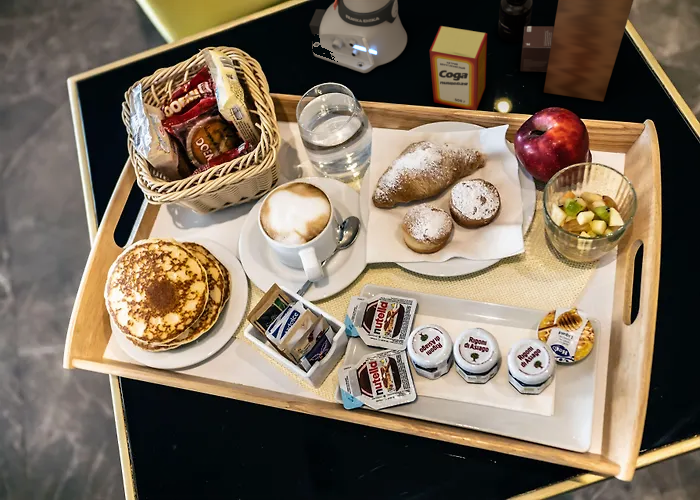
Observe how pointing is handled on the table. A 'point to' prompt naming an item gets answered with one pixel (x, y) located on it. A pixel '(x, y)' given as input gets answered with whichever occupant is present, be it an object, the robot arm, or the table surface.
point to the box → (536, 48)
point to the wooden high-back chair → (585, 46)
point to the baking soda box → (458, 67)
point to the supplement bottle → (514, 19)
